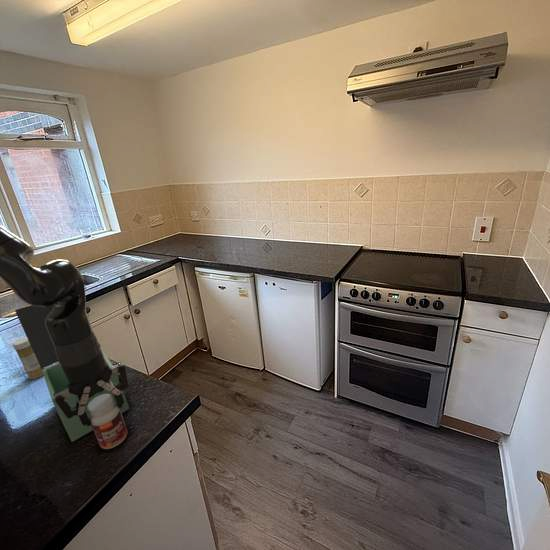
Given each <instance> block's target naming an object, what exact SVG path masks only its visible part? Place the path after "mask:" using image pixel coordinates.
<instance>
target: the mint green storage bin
mask: <svg viewBox="0 0 550 550" xmlns="http://www.w3.org/2000/svg"><path fill="white" fill-rule="evenodd" d="M102 353H103V356H104V358H105V361H106V364H107V366H108V367H113V366H114V365H113V363H112V362H111V361H110V360H109V358H108V357H107V355H106V354H105V352H104V351H103V350H102ZM42 372H43V375H42V376H43V377H44V381H45V384H46V387H47V390H48V393H49V396H50V399H51V402H52V404H53V405H54V407H55V410H56V412H57V414H58V416H59V418H60V420H61V423H62V425H63V427H64V430H65V431H66V433H67V436H68V437H69V439H70V442H71V443H74V442H75V441H77V440H78V439H80V438H82V437H84V436H85V435H88V433H90V432H92V431H93V428H92V426H91V425H90V426H87V425H85V426H84V425H82V422H81V420H80V418H79V416H78V415H75V416H73V417H72V418H67V417H66V415H65V414H64V413H63V411H62V410H61V408H60V407H59V406H58V404H57V403H56V401H55V399H54V396H53V395H54V393H55V392H61V391H63V390H65V389H66V388H67V387H68V381H67V379H66V376H65V374H64V372H63V370H62V367H61V365H60V363H59V362H56V363H54V364H51V365H49V366H47V367H44V369H43V370H42ZM109 381H111V382H112V383H113V384H115V385H117V384H119V378H118V375H116V374H115V373H114V372H113V373H112V375H111V377H110V380H109ZM102 394H110V395H112V397H113V400H114V402H115V403H116V400H115V398H114V395H113V393H112V392H109V391H107V390H106V389H104V391H102V392H100V393H96V394H95V395H94V396H92V397H90V398H89V397H88V400H87V404H86V406H85V411H86V414H87V416H88V418H89V417H90V414H89V411H88V408H87V406H88V404H89V403H90V401H91V400H93V399H94V398H95V397H97V396H99V395H102ZM121 394H122V397H123V400H124V404H122V406H123V407H121V408H119V409H120V411H121V414H124V412H126V411H128V410H130V406H129V404H128V400H127V398H126V395H125V392H124V389H123V390H122V392H121ZM76 401H77V395H74V394H71V393H70V394H69V395H68V400H67V403H68V404H69V406H70V407H71V408H72V407H75V406H76ZM116 404H117V403H116ZM89 421H90V420H89Z"/></svg>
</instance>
